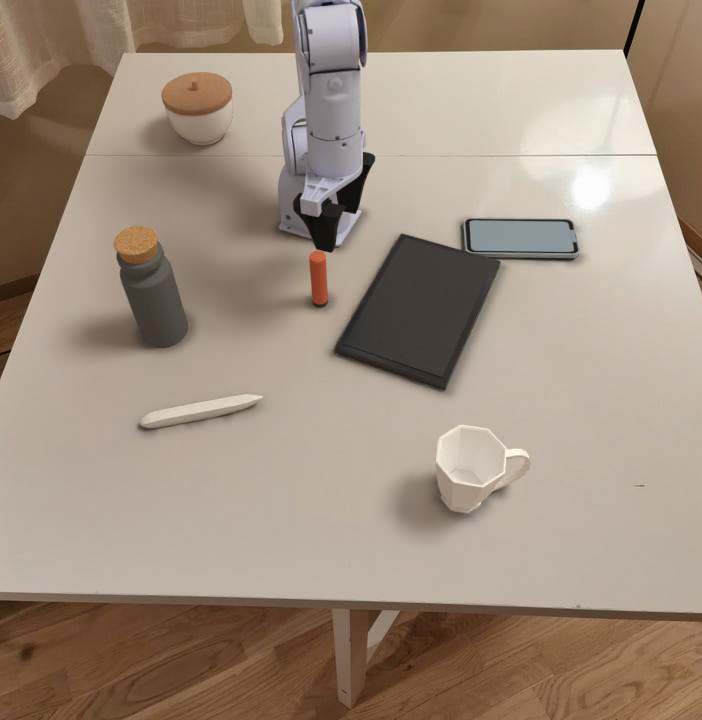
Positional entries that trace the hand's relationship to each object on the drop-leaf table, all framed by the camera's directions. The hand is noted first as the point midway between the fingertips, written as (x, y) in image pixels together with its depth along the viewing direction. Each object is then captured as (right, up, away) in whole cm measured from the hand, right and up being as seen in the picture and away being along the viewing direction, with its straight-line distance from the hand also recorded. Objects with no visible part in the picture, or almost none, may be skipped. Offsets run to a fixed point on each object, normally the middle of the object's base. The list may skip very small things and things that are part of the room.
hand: (337, 229), depth 84 cm
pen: (-15, -22, -4) cm, 27 cm away
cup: (+14, -29, -11) cm, 34 cm away
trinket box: (-21, +21, +30) cm, 42 cm away
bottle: (-21, -12, +4) cm, 25 cm away
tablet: (+11, -9, +5) cm, 15 cm away
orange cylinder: (-2, -8, +6) cm, 10 cm away
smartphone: (+25, +1, +13) cm, 28 cm away
